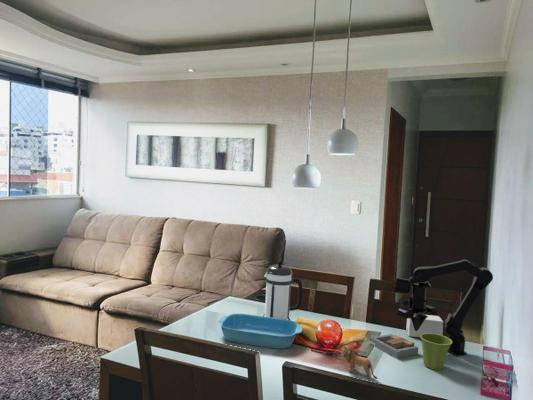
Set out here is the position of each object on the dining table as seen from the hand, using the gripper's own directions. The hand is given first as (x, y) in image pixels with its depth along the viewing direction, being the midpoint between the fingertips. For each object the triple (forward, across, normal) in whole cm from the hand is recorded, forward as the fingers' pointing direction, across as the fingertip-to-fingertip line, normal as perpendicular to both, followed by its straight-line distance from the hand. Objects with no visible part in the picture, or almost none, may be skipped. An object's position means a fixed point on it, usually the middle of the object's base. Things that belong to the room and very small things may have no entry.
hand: (416, 330), depth 192 cm
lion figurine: (+7, +43, +13) cm, 46 cm away
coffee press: (+7, +43, -48) cm, 65 cm away
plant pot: (+7, +10, +19) cm, 23 cm away
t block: (+7, +12, +1) cm, 14 cm away
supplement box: (+2, -8, -12) cm, 15 cm away
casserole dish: (+7, +63, -29) cm, 69 cm away
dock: (+7, +14, 0) cm, 15 cm away
